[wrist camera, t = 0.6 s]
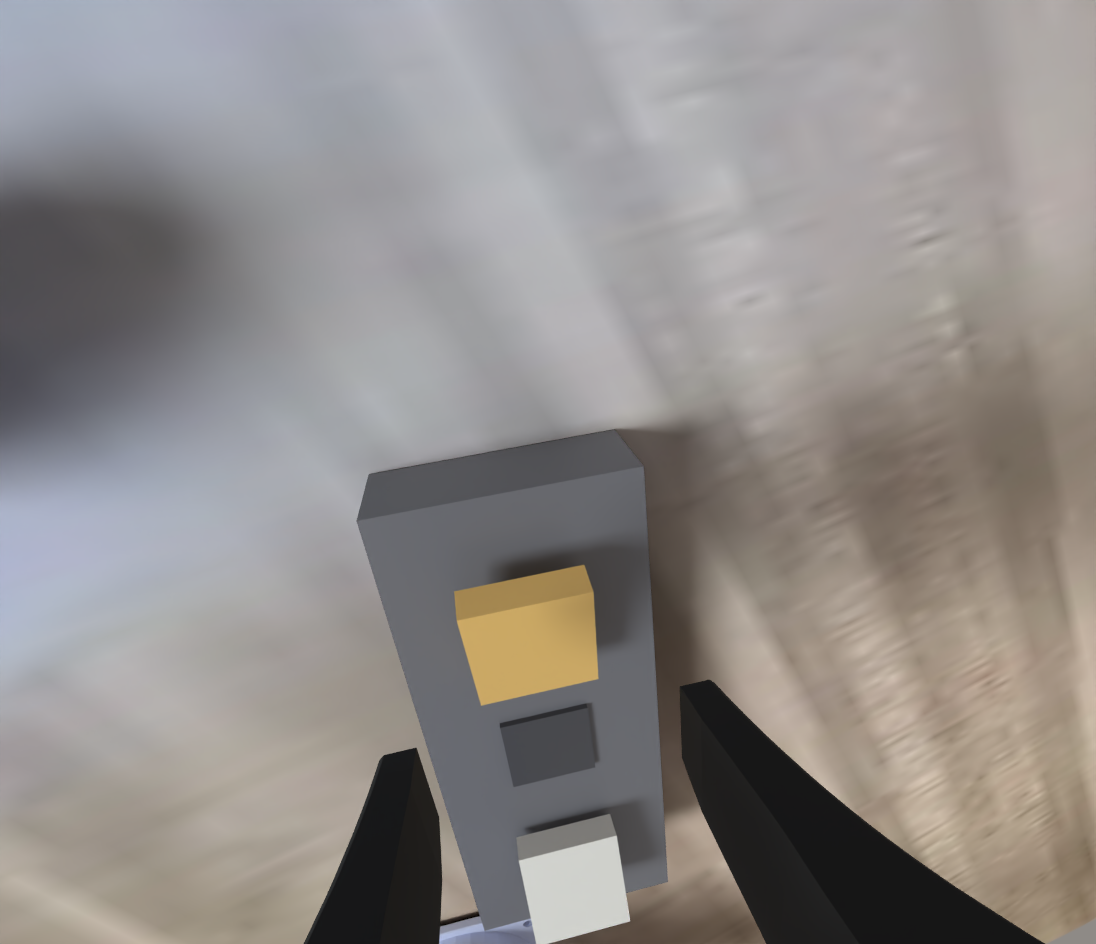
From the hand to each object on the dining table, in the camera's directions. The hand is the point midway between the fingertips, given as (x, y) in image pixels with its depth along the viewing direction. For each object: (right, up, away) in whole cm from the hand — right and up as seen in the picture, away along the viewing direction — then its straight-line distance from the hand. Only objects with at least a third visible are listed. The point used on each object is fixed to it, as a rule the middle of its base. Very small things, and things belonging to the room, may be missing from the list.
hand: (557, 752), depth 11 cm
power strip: (0, -4, +12) cm, 13 cm away
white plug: (+1, -10, +11) cm, 15 cm away
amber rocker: (-1, +1, +6) cm, 6 cm away
